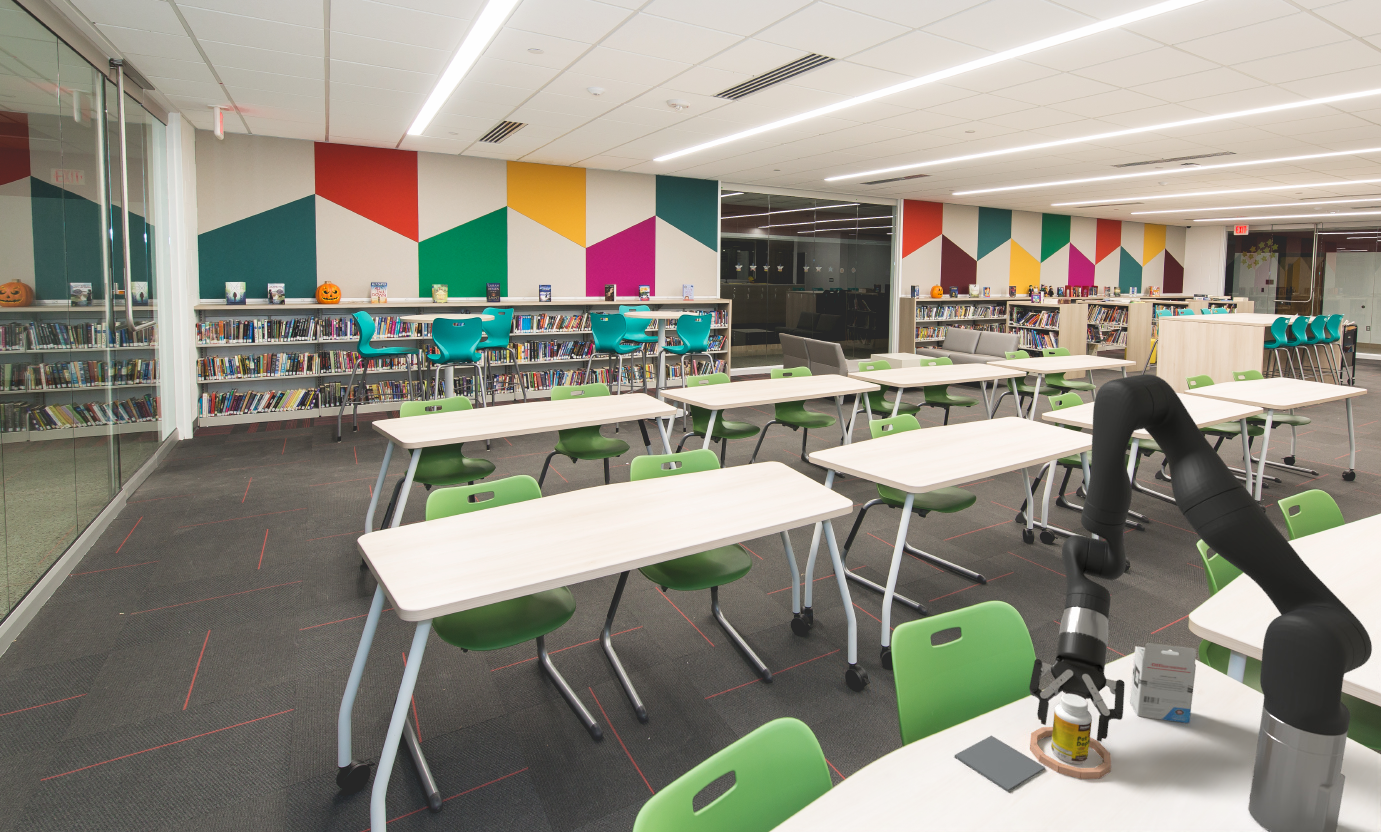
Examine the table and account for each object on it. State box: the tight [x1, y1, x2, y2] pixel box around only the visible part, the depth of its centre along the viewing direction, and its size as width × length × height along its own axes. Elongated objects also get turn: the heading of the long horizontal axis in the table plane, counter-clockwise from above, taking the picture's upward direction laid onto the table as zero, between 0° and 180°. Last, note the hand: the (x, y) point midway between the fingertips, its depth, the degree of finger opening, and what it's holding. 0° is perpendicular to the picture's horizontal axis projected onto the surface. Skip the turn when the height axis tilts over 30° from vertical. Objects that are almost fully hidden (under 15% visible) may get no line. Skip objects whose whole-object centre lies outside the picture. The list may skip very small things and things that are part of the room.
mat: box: [954, 735, 1046, 793], centre depth 117 cm, size 10×10×1 cm
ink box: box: [1129, 642, 1197, 724], centre depth 129 cm, size 9×5×15 cm, turn 73°
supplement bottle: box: [1050, 693, 1093, 765], centre depth 118 cm, size 6×6×10 cm
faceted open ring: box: [1029, 726, 1112, 780], centre depth 118 cm, size 12×12×1 cm
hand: (1070, 731), depth 117 cm, fingers open, 8 cm apart
